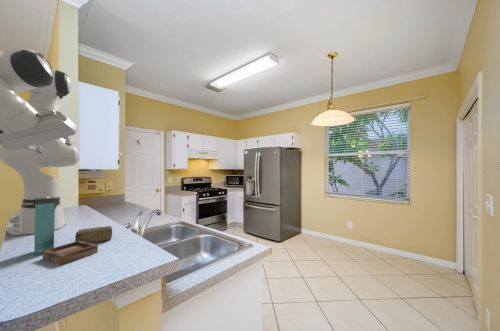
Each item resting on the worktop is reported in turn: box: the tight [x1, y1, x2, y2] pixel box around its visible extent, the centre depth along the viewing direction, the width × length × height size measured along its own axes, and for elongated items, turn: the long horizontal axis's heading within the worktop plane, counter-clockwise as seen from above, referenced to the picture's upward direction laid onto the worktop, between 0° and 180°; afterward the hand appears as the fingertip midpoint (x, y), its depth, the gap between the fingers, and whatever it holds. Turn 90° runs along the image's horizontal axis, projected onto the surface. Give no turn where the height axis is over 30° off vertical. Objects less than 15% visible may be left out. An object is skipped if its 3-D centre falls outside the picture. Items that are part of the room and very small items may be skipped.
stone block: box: [74, 225, 113, 244], centre depth 81 cm, size 6×12×5 cm, turn 125°
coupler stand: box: [42, 241, 99, 266], centre depth 68 cm, size 10×10×2 cm
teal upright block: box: [33, 197, 55, 256], centre depth 71 cm, size 5×5×18 cm
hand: (56, 148), depth 74 cm, fingers open, 8 cm apart
